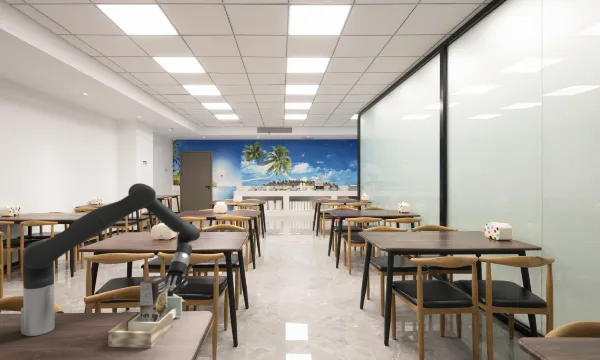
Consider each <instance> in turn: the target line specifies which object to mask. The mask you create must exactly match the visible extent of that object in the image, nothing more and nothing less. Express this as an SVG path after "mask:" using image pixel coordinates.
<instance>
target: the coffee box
mask: <svg viewBox="0 0 600 360" xmlns="http://www.w3.org/2000/svg"><path fill="white" fill-rule="evenodd" d="M167 284H168V283H167V276H166V275H153V276H150V277H149V278H147V279H144V280H142V281H140V284H139V285H140V286H139V314H140V322H159V321H160V320H161V319H162V318H163V317H165V316H166V315H167Z"/></svg>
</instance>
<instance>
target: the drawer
mask: <svg viewBox="0 0 600 360" xmlns="http://www.w3.org/2000/svg"><path fill="white" fill-rule="evenodd" d="M169 313H170V314H173V320H174V319H175V318H176V317H177V316H182V315H183V297H182V296H173V297H167V315H168V314H169ZM167 315H166V316H167ZM166 316H165V317H166ZM165 317H163V318H162V319H161V320H160V321H159V322H140V313H138V315H137V316H136V317H134V318H133V319H132V320H131V321H129V322H128V331H144V332H150V331H151V330H152V329H153V328H154V327H155V326H156V325H157V324H159V323H160V322H161V321H162V320H163V319H164V318H165Z"/></svg>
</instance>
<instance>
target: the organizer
mask: <svg viewBox="0 0 600 360" xmlns="http://www.w3.org/2000/svg"><path fill="white" fill-rule="evenodd" d="M138 314H139V313H138V312H133V313H132V314H131V315H129V316H128V317H126V318H125V319H123V320H122V321H121V322H120V323H118V324H117V325H115V326H114V327H113V328H112V329H110V330H108V331H107V337H108V339H107V345H108V346H107V347H114V348H115V347H116V348H138V349H139V348H143V349H144V348H145V349H152V348H153V346H155V345H156V344H157V343H158V342H159V341H160V340H161V339H162V338H163V336H165V335H166V334H167V332H169V331H170V330H171V328H173V322H174V321H173V320H174V319H173V314H170V313H169V314H168V315H167V316H166V317H165V318H164V319H163V320H162V321H161V322H160V323H159V324H157V325H156V326H155V327H154V328H153V329H152V330H151V331H150V332H144V331H128V322H129V321H131V320H132V319H133V318H134V317H136V316H137V315H138Z"/></svg>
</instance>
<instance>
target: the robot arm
mask: <svg viewBox="0 0 600 360" xmlns="http://www.w3.org/2000/svg"><path fill="white" fill-rule="evenodd" d="M127 194H128V195H126V196H125V197H124V198H122V199H120V200H118V201H115V202H112V203H110V204H106V205H103V206H100V207H97V208H96V209H94V210H91V211H89V212H87V213H86V214H84V215H82V216H80V217H79V218H78V219H76V220H74V222H73V223H71V224H70V225H69V226H67V227H66V228H65V229H64V230H63V231H62V232H60V233H58V234H56V235H54V236H53V237H51V238H49V239H47V240H44V241H43V240H42V241H34V242H32V243H29V244H28V245H27V246H26V247H25V248H24V250H23V252H22V284H23V285H22V287H23V288H22V290H23V293H22V294H23V300H22V302H23V306H22V307H21V309H20V334H21V335H24V336H25V335H26V337H34V336H35V337H36V336H41V335H44V334H47V333H50V332H52V331H53V330H54V329H55V326H56V325H55V272H54V271H55V269H54V262H55V261H56V260H58V259H59V258H61V257H62V256H63V255H65V254H66V253H68V252H69V251H70V250H72V249H74V248H76V247H77V246H79V245H81V244H83V243H85V242H87V241H88V240H91V239H92V238H93V237H96V236H97V235H99V234H100V233H103V232H105V231H106V230H107V229H109V228H110V227H112V226H113V225H115V224H116V223H117V224H118V223H119V222H120V221H121V220H123V219H124V218H127V216H130V215H132V214H133V213H135V212H138V211H139V210H142V209H145V210H147V211H148V212H150V213H151V214H152V215H154V217H156V218H157V219H158V220H159V221H160V222H162V224H164V225H165V227H167V228H168V229H169V230H171V231H172V232H174V233H177V237H176V238H177V240H176V241H177V242H176V249H175V252H174V254H173V257H172V259H171V262H170V265H169V268H168V270H167V274H166V275H165V276H167V297H174V294H175V293H179V292H180V291H181V290H183V289H184V288H185V287H186V286H187V285H188V284H189V283H188V280H187V279H186V278H185V275H186V273H187V270H188V266H189V263H190V258H191V255H192V251H193V247H192V245H191V244H190V243H193V242H195V241H197V240H199V238H200V237H201V232H200V229H199V228H198V227H197V226H196V225H194V224H193V223H190V222H188V221H186V220H184V219H183V218H182V217H181V216H180V215H178V214H177V213H176V212H175V211H174V210H172V209H171V208H169V207H167V206H166V205H165V204H164V203H162V202H161V201H160V200H159V199H158V198H157V197H156V195H157V194H156V191H155V189H154V188H153V187H151V186H150V185H147V184H145V183H140V182H139V183H134V184H132V185H131V186H130V187H129V188H128V192H127Z"/></svg>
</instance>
